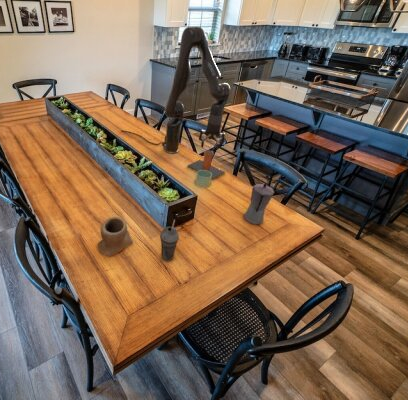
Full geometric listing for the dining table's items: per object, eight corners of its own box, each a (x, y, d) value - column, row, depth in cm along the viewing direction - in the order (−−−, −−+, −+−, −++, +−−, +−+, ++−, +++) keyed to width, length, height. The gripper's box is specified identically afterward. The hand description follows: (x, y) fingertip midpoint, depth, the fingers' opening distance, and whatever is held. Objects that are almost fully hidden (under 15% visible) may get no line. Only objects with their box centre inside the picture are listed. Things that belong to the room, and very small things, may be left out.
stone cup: (109, 264, 105) (106, 236, 96) (93, 246, 112) (90, 219, 103) (140, 246, 113) (140, 219, 104) (123, 231, 120) (122, 204, 111)
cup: (192, 182, 156) (193, 173, 152) (201, 177, 161) (203, 168, 157) (203, 189, 151) (205, 179, 147) (213, 183, 156) (215, 174, 152)
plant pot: (199, 168, 167) (202, 151, 160) (205, 165, 170) (208, 149, 163) (206, 171, 163) (209, 155, 157) (212, 168, 167) (215, 152, 160)
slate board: (187, 167, 170) (187, 165, 169) (199, 161, 177) (199, 159, 176) (212, 180, 159) (213, 178, 158) (224, 173, 166) (225, 171, 165)
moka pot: (264, 212, 136) (276, 179, 124) (263, 232, 125) (276, 197, 113) (245, 208, 139) (255, 175, 127) (242, 226, 127) (253, 192, 115)
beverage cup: (157, 250, 112) (160, 213, 100) (175, 250, 113) (179, 213, 101) (159, 264, 106) (162, 227, 94) (177, 263, 107) (182, 226, 95)
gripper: (227, 121, 151) (221, 147, 161) (202, 117, 153) (198, 143, 163) (227, 126, 145) (221, 153, 155) (201, 122, 147) (197, 149, 157)
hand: (209, 148), depth 159 cm, fingers open, 8 cm apart
